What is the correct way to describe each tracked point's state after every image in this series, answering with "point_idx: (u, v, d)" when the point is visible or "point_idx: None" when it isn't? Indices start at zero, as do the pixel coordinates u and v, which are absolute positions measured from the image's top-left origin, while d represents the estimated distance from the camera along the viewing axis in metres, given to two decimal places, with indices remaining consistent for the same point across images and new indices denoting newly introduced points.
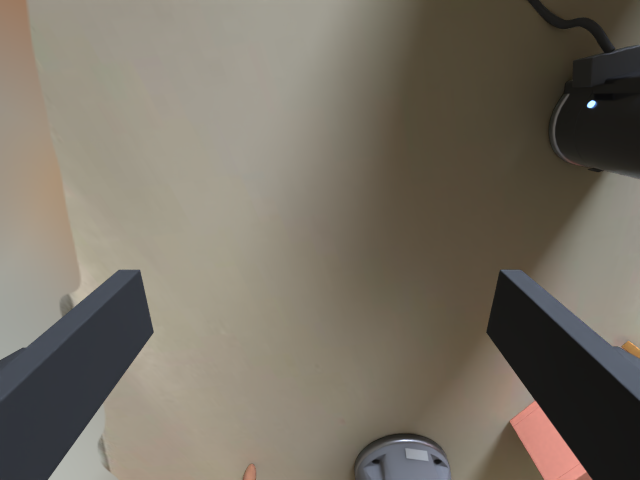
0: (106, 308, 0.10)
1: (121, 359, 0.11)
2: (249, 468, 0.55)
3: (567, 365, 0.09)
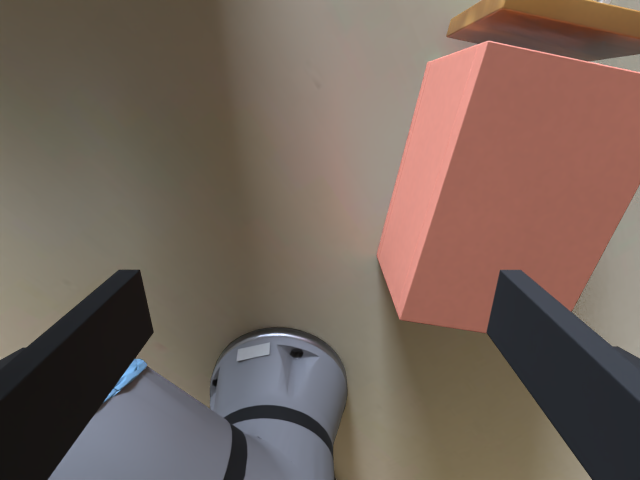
0: (105, 308, 0.10)
1: (121, 359, 0.11)
2: None
3: (567, 365, 0.09)
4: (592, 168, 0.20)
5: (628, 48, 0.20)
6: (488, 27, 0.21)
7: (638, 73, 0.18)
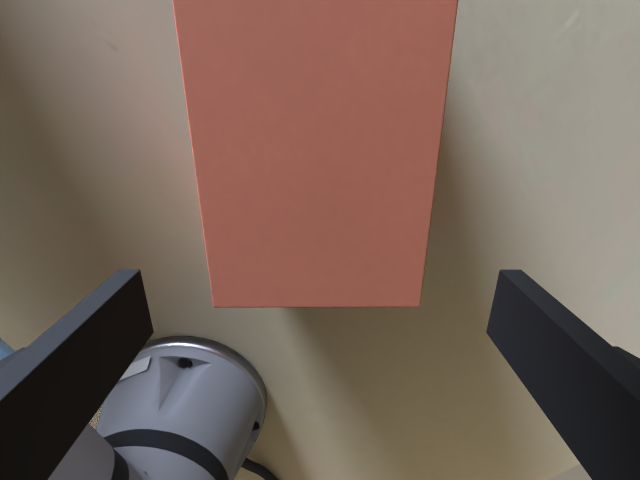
0: (105, 308, 0.10)
1: (121, 359, 0.11)
2: None
3: (567, 365, 0.09)
4: (375, 61, 0.15)
5: None
6: None
7: None
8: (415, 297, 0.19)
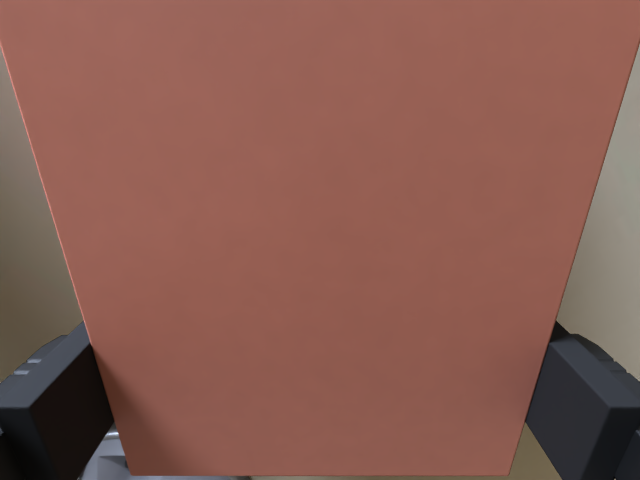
0: None
1: None
2: None
3: None
4: None
5: None
6: None
7: None
8: (502, 462, 0.10)
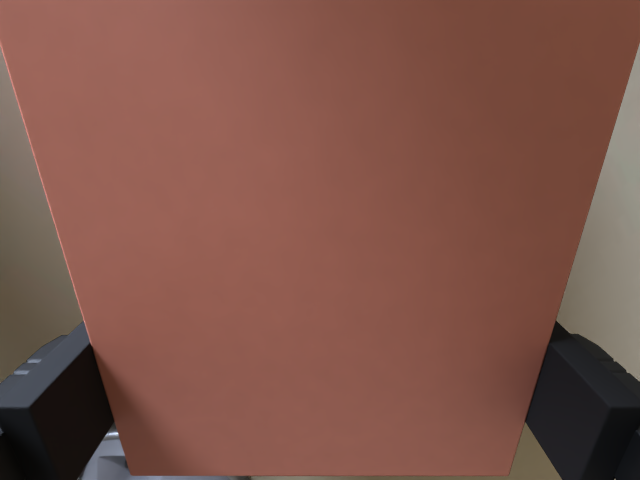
0: None
1: None
2: None
3: None
4: None
5: None
6: None
7: None
8: (502, 462, 0.10)
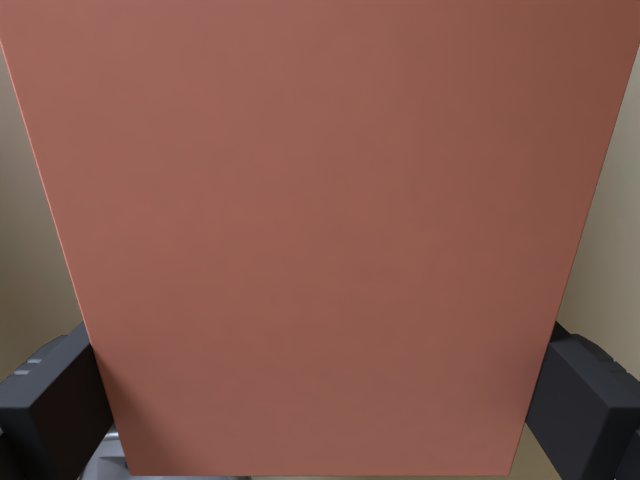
0: None
1: None
2: None
3: None
4: None
5: None
6: None
7: None
8: (502, 462, 0.10)
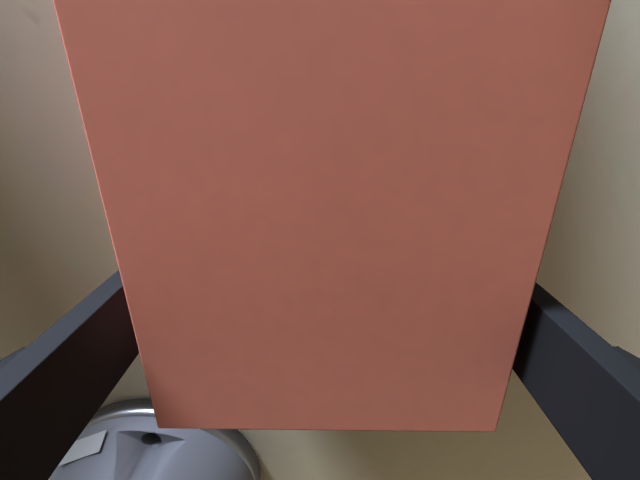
0: (106, 308, 0.10)
1: (121, 359, 0.11)
2: None
3: (567, 365, 0.09)
4: (452, 7, 0.07)
5: None
6: None
7: None
8: (489, 418, 0.11)
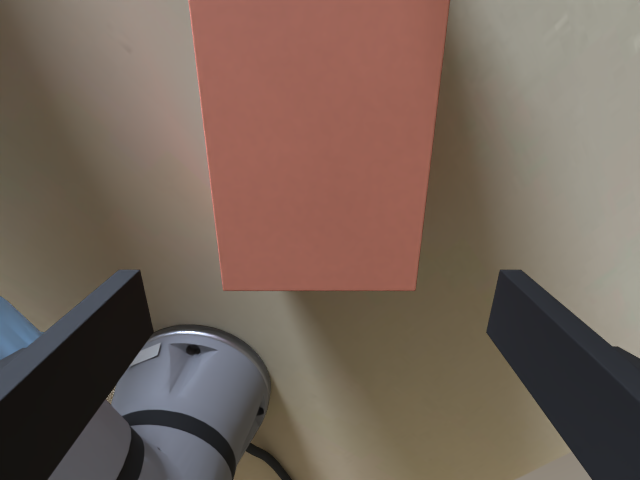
0: (105, 308, 0.10)
1: (121, 359, 0.11)
2: None
3: (567, 365, 0.09)
4: (373, 62, 0.16)
5: None
6: None
7: None
8: (411, 281, 0.20)
